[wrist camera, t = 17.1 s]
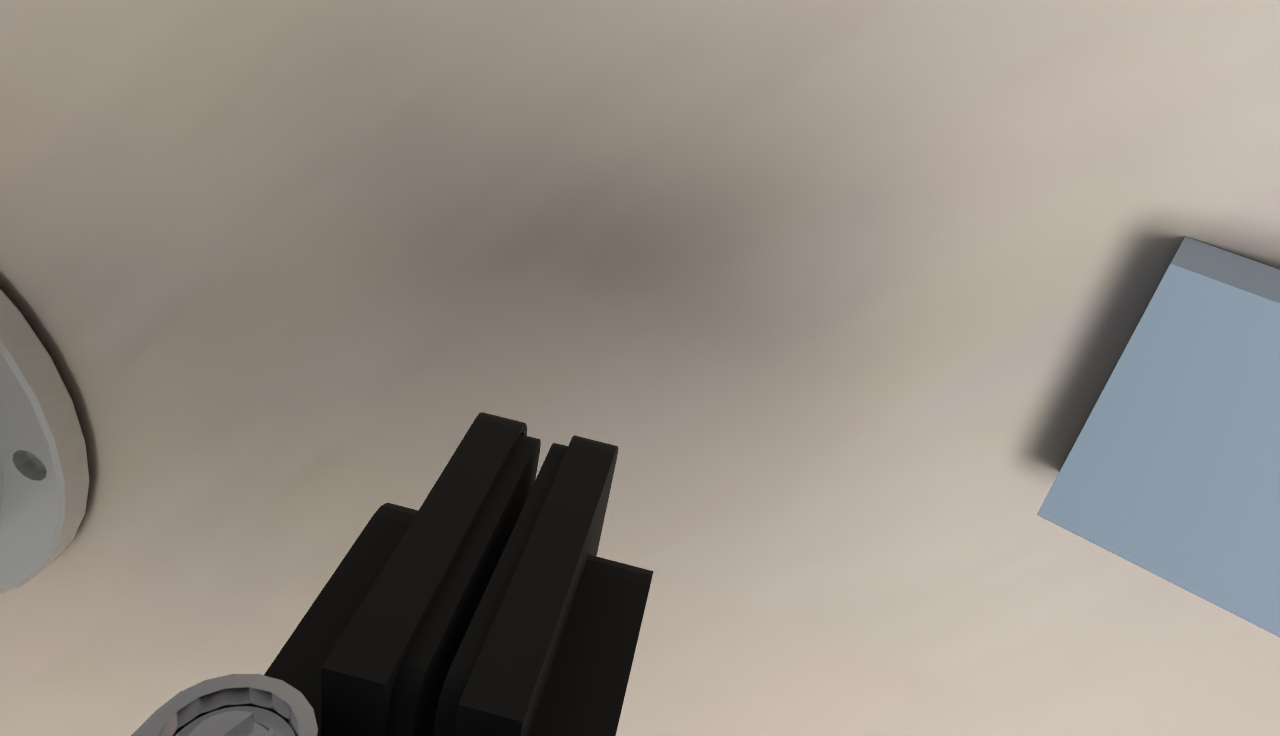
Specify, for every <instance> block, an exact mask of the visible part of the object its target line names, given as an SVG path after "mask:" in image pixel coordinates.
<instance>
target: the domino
mask: <svg viewBox="0 0 1280 736" xmlns="http://www.w3.org/2000/svg"><path fill="white" fill-rule="evenodd" d="M1037 515H1038V516H1040V517H1042V518H1044V519H1046V520H1048V521H1050V522H1052V523H1054V524H1056V525H1058V526H1060V527H1062V528H1064V529H1066V530H1068V531H1070V532H1072V533H1074V534H1076V535H1078V536H1080V537H1082V538H1084V539H1086V540H1088V541H1090V542H1092V543H1094V544H1096V545H1098V546H1100V547H1102V548H1104V549H1106V550H1108V551H1110V552H1112V553H1114V554H1116V555H1118V556H1120V557H1122V558H1124V559H1126V560H1128V561H1130V562H1132V563H1134V564H1136V565H1138V566H1140V567H1142V568H1144V569H1146V570H1148V571H1150V572H1152V573H1154V574H1155V575H1157V576H1159V577H1161V578H1163V579H1165V580H1167V581H1169V582H1171V583H1173V584H1175V585H1177V586H1179V587H1181V588H1183V589H1185V590H1187V591H1189V592H1191V593H1193V594H1195V595H1197V596H1199V597H1201V598H1203V599H1205V600H1207V601H1209V602H1211V603H1213V604H1215V605H1217V606H1219V607H1221V608H1223V609H1225V610H1227V611H1229V612H1231V613H1233V614H1235V615H1237V616H1239V617H1241V618H1243V619H1245V620H1247V621H1249V622H1251V623H1253V624H1255V625H1257V626H1259V627H1261V628H1263V629H1265V630H1267V631H1269V632H1271V633H1273V634H1274V635H1276V636H1278V637H1280V270H1279V269H1276V268H1273V267H1271V266H1268V265H1265V264H1262V263H1259V262H1256V261H1253V260H1251V259H1248V258H1245V257H1242V256H1239V255H1236V254H1234V253H1231V252H1228V251H1225V250H1222V249H1219V248H1216V247H1214V246H1211V245H1208V244H1205V243H1202V242H1199V241H1196V240H1194V239H1191V238H1188V237H1185V238H1184V240H1183V242H1182V243H1181V245H1180V247H1179V249H1178V251H1177V252H1176V254H1175V256H1174V258H1173V260H1172V262H1171V263H1170V265H1169V267H1168V269H1167V271H1166V273H1165V275H1164V277H1163V278H1162V280H1161V282H1160V284H1159V286H1158V288H1157V290H1156V292H1155V293H1154V295H1153V297H1152V299H1151V301H1150V303H1149V305H1148V307H1147V309H1146V310H1145V312H1144V314H1143V316H1142V318H1141V320H1140V322H1139V324H1138V325H1137V327H1136V329H1135V331H1134V333H1133V335H1132V337H1131V339H1130V340H1129V342H1128V344H1127V346H1126V348H1125V350H1124V352H1123V354H1122V356H1121V357H1120V359H1119V361H1118V363H1117V365H1116V367H1115V369H1114V371H1113V372H1112V374H1111V376H1110V378H1109V380H1108V382H1107V384H1106V386H1105V387H1104V389H1103V391H1102V393H1101V395H1100V397H1099V399H1098V401H1097V403H1096V404H1095V406H1094V408H1093V410H1092V412H1091V414H1090V416H1089V418H1088V419H1087V421H1086V423H1085V425H1084V427H1083V429H1082V431H1081V433H1080V434H1079V436H1078V438H1077V440H1076V442H1075V444H1074V446H1073V448H1072V450H1071V451H1070V453H1069V455H1068V457H1067V459H1066V461H1065V463H1064V465H1063V466H1062V468H1061V470H1060V472H1059V474H1058V476H1057V478H1056V480H1055V481H1054V483H1053V485H1052V487H1051V489H1050V491H1049V493H1048V495H1047V497H1046V498H1045V500H1044V502H1043V504H1042V506H1041V508H1040V510H1039V512H1038V513H1037Z"/></svg>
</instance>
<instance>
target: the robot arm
mask: <svg viewBox="0 0 1280 736" xmlns="http://www.w3.org/2000/svg"><path fill="white" fill-rule="evenodd" d="M526 435H527V425H526V423H523V422H519V421H515V420H511V419H507V418H503V417H499V416H495V415H491V414H487V413H483V412H482V413H479V415H478V416H477V417H476V419H475V420H474V422H473V424H472V425H471V427H470V428H469V430H468V432H467V433H466V435H465V437H464V438H463V440H462V441H461V443H460V445H459V446H458V448H457V449H456V451H455V453H454V454H453V456H452V458H451V459H450V461H449V462H448V464H447V466H446V467H445V469H444V471H443V472H442V474H441V475H440V477H439V479H438V480H437V482H436V483H435V485H434V487H433V488H432V490H431V492H430V493H429V495H428V496H427V498H426V500H425V501H424V503H423V505H422V506H421V508H420V509H419V511H417V510H413V509H409V508H406V507H402V506H398V505H394V504H390V503H386V504H384V505H382V506H381V507H380V508H379V509H378V510H377V511H376V513H375V514H374V515H373V517H372V518H371V520H370V521H369V522H368V524H367V525H366V527H365V528H364V530H363V531H362V533H361V534H360V536H359V537H358V539H357V540H356V541H355V543H354V544H353V546H352V547H351V549H350V550H349V552H348V553H347V555H346V556H345V558H344V559H343V560H342V562H341V563H340V565H339V566H338V568H337V569H336V571H335V572H334V574H333V575H332V577H331V578H330V580H329V581H328V582H327V584H326V585H325V587H324V588H323V590H322V591H321V593H320V594H319V596H318V597H317V599H316V600H315V601H314V603H313V604H312V606H311V607H310V609H309V610H308V612H307V613H306V615H305V616H304V618H303V619H302V620H301V622H300V623H299V625H298V626H297V628H296V629H295V631H294V632H293V634H292V635H291V637H290V638H289V639H288V641H287V642H286V644H285V645H284V647H283V648H282V650H281V651H280V653H279V654H278V656H277V657H276V659H275V660H274V661H273V663H272V664H271V666H270V667H269V669H268V670H267V672H266V673H265V675H260V674H231V675H227V676H222V677H218V678H213V679H209V680H205V681H203V682H201V683H199V684H196V685H194V686H192V687H190V688H188V689H186V690H184V691H181V692H179V693H178V694H177V695H176V696H174V697H173V698H172V699H170V700H169V701H168V702H167V703H165V704H164V705H163V706H161V707H160V708H159V709H158V710H156V711H155V712H154V713H153V714H152V715H151V716H150V717H149V718H148V719H147V720H146V721H145V722H144V723H143V724H142V725H141V726H140V727H139V728H138V729H137V730H136V731H135V732H134V733H133V734H132V735H131V736H615V735H616V731H617V727H618V722H619V718H620V714H621V709H622V705H623V701H624V696H625V692H626V688H627V683H628V679H629V675H630V670H631V666H632V662H633V657H634V653H635V649H636V644H637V640H638V636H639V631H640V627H641V623H642V618H643V614H644V610H645V605H646V601H647V597H648V592H649V588H650V584H651V579H652V575H653V571H650V570H646V569H642V568H638V567H634V566H631V565H627V564H623V563H619V562H615V561H611V560H607V559H603V558H600V557H596V555H597V551H598V546H599V541H600V536H601V531H602V527H603V522H604V517H605V512H606V507H607V503H608V498H609V493H610V488H611V483H612V479H613V474H614V469H615V464H616V459H617V454H618V446H614V445H610V444H606V443H602V442H598V441H594V440H590V439H586V438H582V437H578V436H573V437H572V439H571V441H570V444H569V446H564V445H560V444H556V443H553V444H552V446H551V448H550V450H549V452H548V454H547V456H546V459H545V461H544V463H543V465H542V467H541V470H540V472H539V474H538V476H537V478H536V472H537V466H538V459H539V453H540V439H536V438H532V437H528V436H526ZM535 479H536V480H535ZM88 488H89V472H88V463H87V454H86V444H85V440H84V437H83V434H82V430H81V427H80V424H79V421H78V417H77V414H76V411H75V408H74V405H73V401H72V399H71V397H70V395H69V393H68V391H67V389H66V387H65V385H64V383H63V380H62V378H61V376H60V374H59V372H58V370H57V368H56V366H55V364H54V362H53V360H52V358H51V356H50V355H49V353H48V352H47V350H46V349H45V347H44V346H43V344H42V343H41V341H40V340H39V338H38V337H37V335H36V334H35V332H34V331H33V330H32V328H31V327H30V325H29V324H28V322H27V321H26V319H25V318H24V316H23V315H22V313H21V312H20V311H19V309H18V308H17V307H16V306H15V305H14V304H13V303H12V301H11V300H10V299H9V298H8V297H7V296H6V294H5V293H4V292H3V291H2V290H1V289H0V594H1V593H4V592H7V591H9V590H12V589H15V588H18V587H20V586H22V585H23V584H24V583H26V582H27V581H28V580H30V579H31V578H32V577H33V576H35V575H36V574H37V573H39V572H40V571H41V570H43V569H44V568H45V567H46V566H47V565H48V564H49V563H51V562H52V561H53V560H54V559H55V558H56V557H57V556H58V555H59V554H60V553H61V552H62V551H63V550H64V549H65V548H66V547H67V546H68V544H69V543H70V542H71V541H72V540H73V539H74V537H75V535H76V532H77V530H78V528H79V526H80V524H81V521H82V519H83V517H84V515H85V511H86V503H87V496H88Z"/></svg>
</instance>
